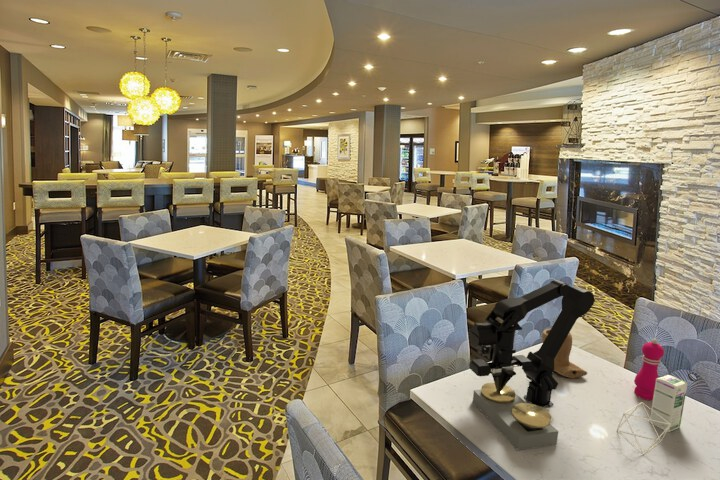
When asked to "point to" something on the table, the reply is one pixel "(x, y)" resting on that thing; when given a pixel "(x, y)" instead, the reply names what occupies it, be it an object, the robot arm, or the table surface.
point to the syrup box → (668, 402)
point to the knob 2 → (531, 416)
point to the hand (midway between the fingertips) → (498, 390)
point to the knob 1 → (498, 393)
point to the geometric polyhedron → (643, 436)
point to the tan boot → (565, 359)
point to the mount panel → (514, 424)
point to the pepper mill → (648, 370)
